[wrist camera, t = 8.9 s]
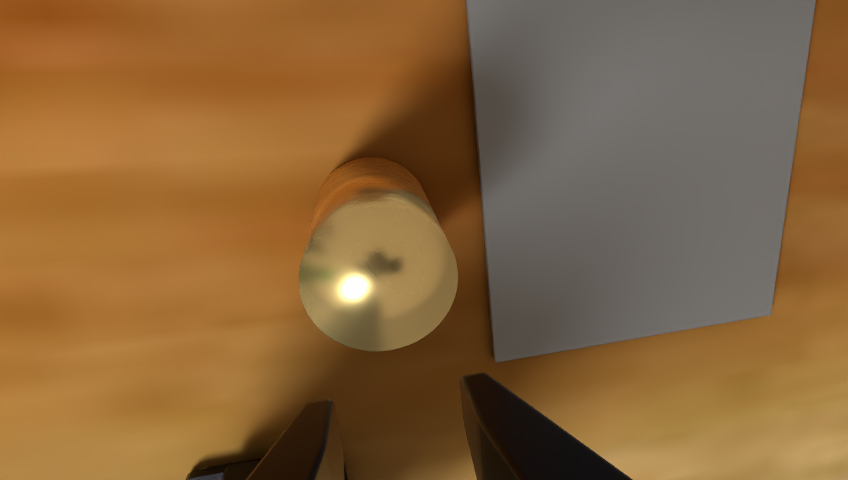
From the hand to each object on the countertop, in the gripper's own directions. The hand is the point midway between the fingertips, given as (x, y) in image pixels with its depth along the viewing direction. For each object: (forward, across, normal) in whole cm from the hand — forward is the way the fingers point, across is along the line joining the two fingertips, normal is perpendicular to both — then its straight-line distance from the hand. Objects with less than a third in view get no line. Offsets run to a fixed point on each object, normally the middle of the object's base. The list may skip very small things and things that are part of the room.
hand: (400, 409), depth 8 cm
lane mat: (+11, -10, -8) cm, 17 cm away
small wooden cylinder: (+11, 0, 0) cm, 11 cm away
